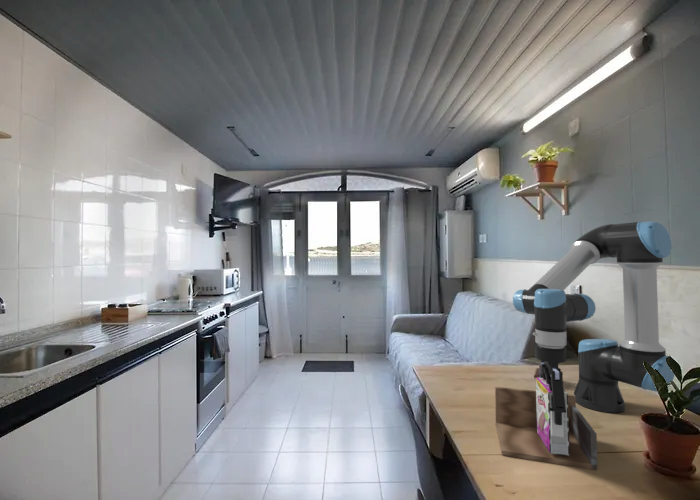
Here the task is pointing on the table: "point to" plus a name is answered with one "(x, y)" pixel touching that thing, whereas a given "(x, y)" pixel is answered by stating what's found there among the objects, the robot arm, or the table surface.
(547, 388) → the candy bar box
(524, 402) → the shelf
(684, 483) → the table surface
